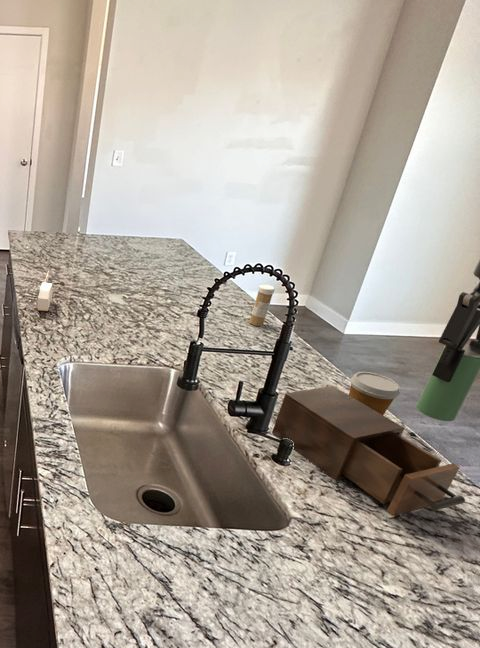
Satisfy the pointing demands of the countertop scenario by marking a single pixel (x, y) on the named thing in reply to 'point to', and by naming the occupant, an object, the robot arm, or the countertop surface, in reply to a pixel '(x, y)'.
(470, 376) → the green can
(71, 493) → the countertop surface
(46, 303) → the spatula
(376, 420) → the cabinet
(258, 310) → the sprinkles bottle
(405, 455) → the drawer
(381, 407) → the disposable coffee cup
